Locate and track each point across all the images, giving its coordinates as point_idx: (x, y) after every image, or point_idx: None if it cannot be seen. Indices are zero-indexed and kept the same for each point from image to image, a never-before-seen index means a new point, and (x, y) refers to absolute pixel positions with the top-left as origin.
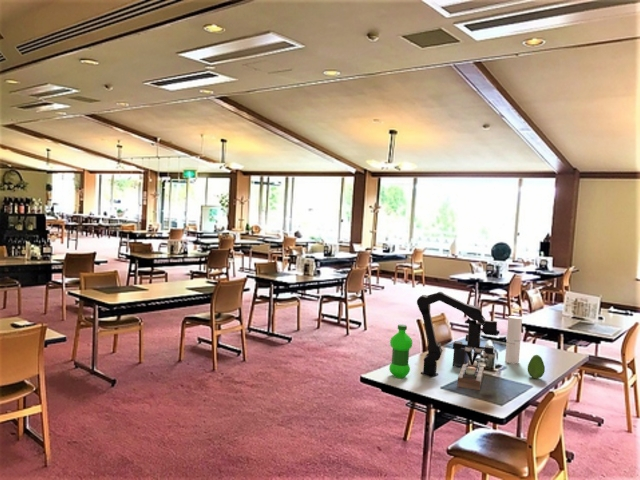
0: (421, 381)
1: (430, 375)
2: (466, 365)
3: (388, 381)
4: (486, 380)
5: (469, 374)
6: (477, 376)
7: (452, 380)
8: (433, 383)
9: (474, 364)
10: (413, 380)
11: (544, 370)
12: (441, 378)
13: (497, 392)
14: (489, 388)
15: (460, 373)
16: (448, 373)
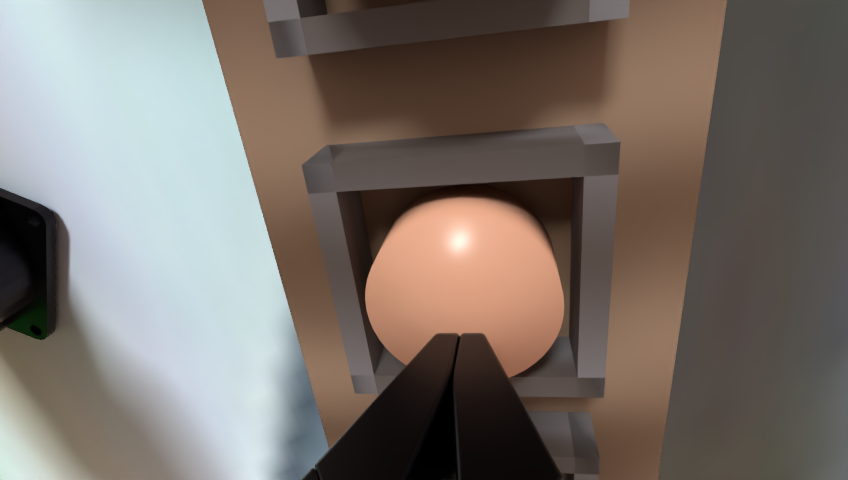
0: (86, 470)
1: (31, 324)
2: (281, 43)
3: None
4: (742, 29)
5: None
6: (599, 422)
7: (276, 320)
8: (182, 475)
9: None
10: (31, 473)
11: None
12: (154, 315)
13: (835, 467)
14: (746, 385)
15: (328, 402)
16: (96, 43)
